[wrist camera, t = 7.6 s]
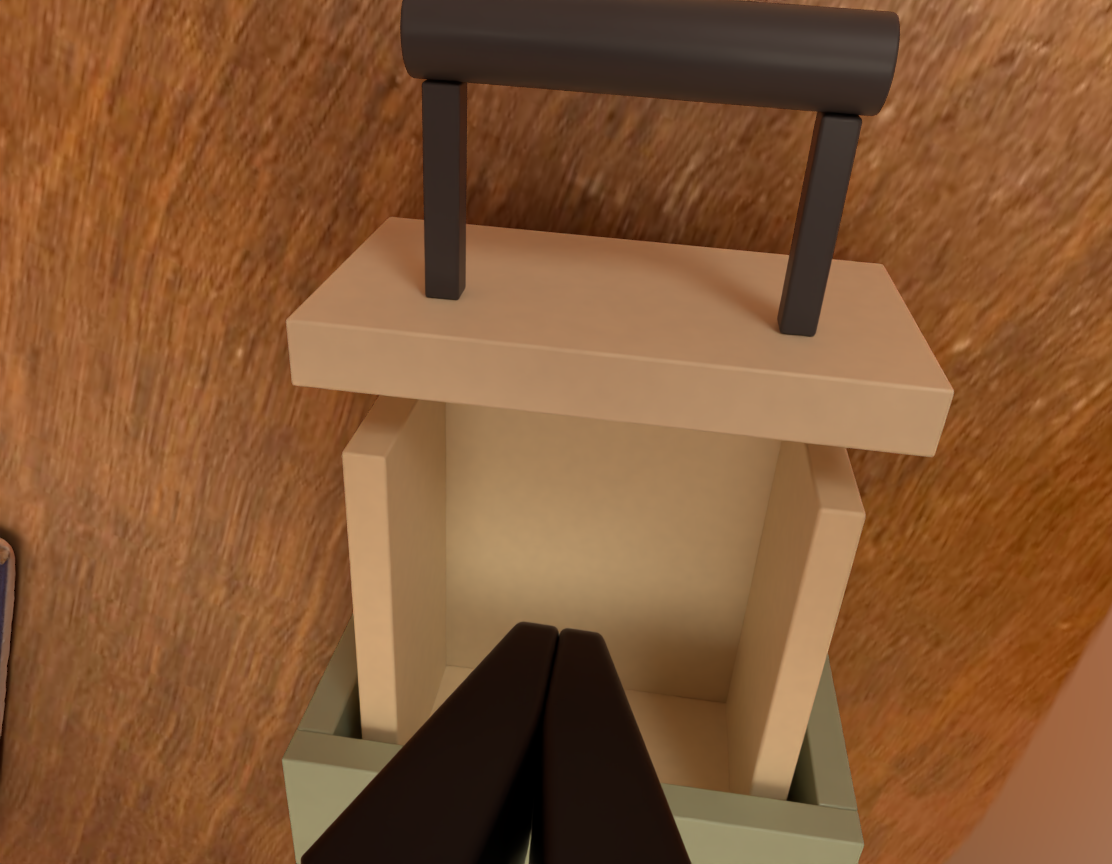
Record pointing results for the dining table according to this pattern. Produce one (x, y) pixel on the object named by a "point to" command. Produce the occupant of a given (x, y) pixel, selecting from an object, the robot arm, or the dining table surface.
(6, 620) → the book
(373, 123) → the dining table surface
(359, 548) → the drawer
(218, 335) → the dining table surface
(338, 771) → the cabinet
